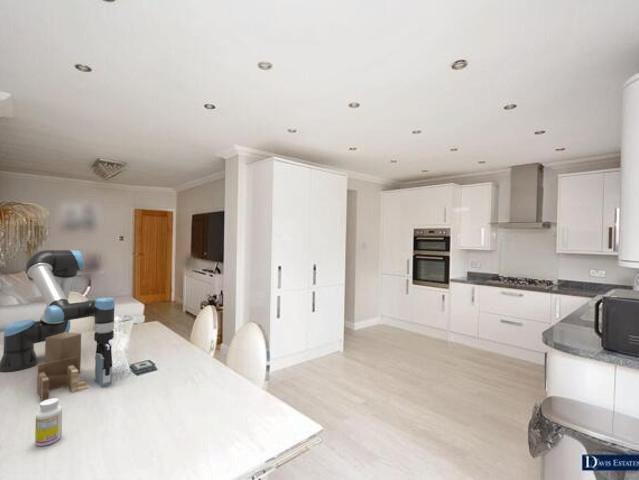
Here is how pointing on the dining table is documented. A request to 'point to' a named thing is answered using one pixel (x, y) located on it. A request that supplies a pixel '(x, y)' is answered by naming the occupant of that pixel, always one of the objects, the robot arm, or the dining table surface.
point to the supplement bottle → (48, 422)
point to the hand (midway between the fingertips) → (103, 378)
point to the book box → (100, 371)
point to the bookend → (74, 380)
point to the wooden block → (63, 347)
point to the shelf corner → (53, 376)
